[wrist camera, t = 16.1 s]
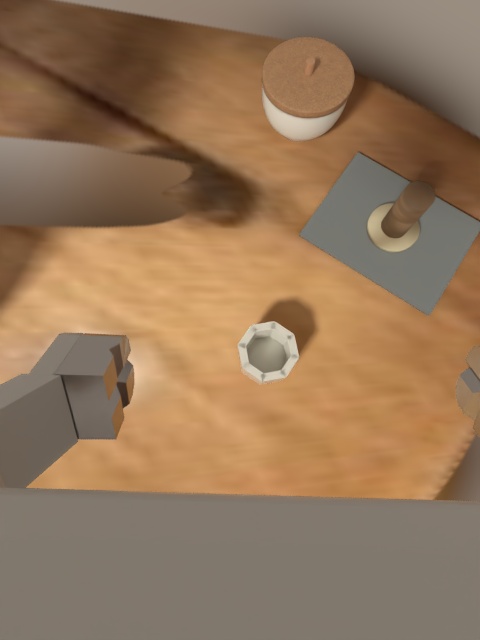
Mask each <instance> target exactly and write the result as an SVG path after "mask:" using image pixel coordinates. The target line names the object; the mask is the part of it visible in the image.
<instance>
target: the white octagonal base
mask: <svg viewBox="0 0 480 640" xmlns="http://www.w3.org/2000/svg"><path fill="white" fill-rule="evenodd" d="M238 354H239V360H240V365H241V371H242V373H244V374H245V375H246V376H248V377H249V378H250V379H252V380H253V381H255V382H257V383H258V384H260V385H263V384H269V383H274V382H279V381H282V380H284V379H285V378H286V377H287V375H288V374H289V372H290V371H291V369H292V368H293V366H294V365H295V363H296V362H297V360H298V359H299V354H298V349H297V345H296V340H295V336H294V334H293V333H292V332H290V331H289V330H287V329H286V328H284V327H283V326H281V325H280V324H278V323H276V322H275V321H272V322H266V323H261V324H255V325H251V326H250V328H249V329H248V330H247V332H246V333H245V335H244V336H243V338H242V339H241V340H240V342H239V343H238Z"/></svg>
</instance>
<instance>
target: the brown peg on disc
mask: <svg viewBox="0 0 480 640" xmlns="http://www.w3.org/2000/svg"><path fill="white" fill-rule="evenodd" d="M435 197H436V195H435V191H434V189H433V188H432V186H431V185H429V184H428V183H426V182H423V181H414V182H411V183H410V184H408V185H407V187H406V188H405V189H404V191H403V192H402V194H401V195H400V196H399V198H398V199H397V200H396V202H395V203H388V204H384V205H381V206H379V207H378V208H376V209H375V210H374V211H373V212H372V214H371V215H370V217H369V219H368V221H367V227H366V228H367V234H368V237H369V239H370V240H371V242H372V243H373V244H374V245H375V246H376V247H378V248H379V249H381V250H383V251H386V252H391V253H397V252H402V251H405V250H407V249H408V248H410V247H411V246H412V245H413V244H414V243H415V241H416V240H417V238H418V236H419V233H420V225H419V221H418V219H419V218H420V217H421V216H422V215H423V214H424V213H425V212H426V211H427V209H428V208H429V207H430V206H431V205H432V204H433V203H434V201H435Z"/></svg>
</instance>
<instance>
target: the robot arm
mask: <svg viewBox="0 0 480 640" xmlns="http://www.w3.org/2000/svg"><path fill="white" fill-rule="evenodd" d="M130 351H131V349H130V344H129V339H128V338H127V336H126V335H108V334H87V333H85V334H83V333H62V334H59V335H58V336H57V338H56V339H55V340H54V342H53V343H52V344H51V345H50V347H49V348H48V349H47V351H46V352H45V353H44V355H43V356H42V357H41V359H40V360H39V361H38V362H37V364H36V365H35V366H34V368H33V369H32V370H31V372H30V373H29V374H21V375H19V376H17V377H15V378H13V379H11V380H9V381H7V382H5V383H3V384H1V385H0V640H480V502H478V501H477V502H476V501H447V500H416V499H381V498H347V497H312V496H277V495H243V494H209V493H175V492H141V491H107V490H73V489H39V488H26V487H27V486H28V485H29V484H30V483H31V482H32V481H34V480H35V479H36V478H37V477H38V476H39V475H40V474H42V473H43V472H44V471H45V470H46V469H47V468H48V467H50V466H51V465H52V464H53V463H54V462H55V461H56V460H57V459H59V458H60V457H61V456H62V455H63V454H64V453H65V452H67V451H68V450H69V449H70V448H71V447H72V446H73V445H75V444H76V443H77V442H78V439H116V438H117V436H118V433H119V430H120V428H121V425H122V422H123V420H124V413H123V408H124V407H126V406H127V405H128V404H130V401H131V398H132V395H133V388H134V369H133V365H132V364H131V363H130V362H129V361H128V360H127V358H128V356H129V354H130ZM465 360H466V363H467V365H468V367H469V368H468V369H466V370H465V371H464V372H462V373H461V374H460V375H459V378H458V381H457V383H456V399H457V402H458V405H459V407H460V409H461V410H462V412H463V413H464V414H465V415H467V416H468V417H470V418H471V419H473V420H474V421H475V422H474V425H473V429H474V430H475V432H476V433H477V435H478V436H479V438H480V346H473V347H472V348H471V349H470V351H469V352H468V355H467V357H466V359H465Z"/></svg>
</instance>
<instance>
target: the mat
mask: <svg viewBox="0 0 480 640" xmlns="http://www.w3.org/2000/svg"><path fill="white" fill-rule="evenodd" d="M410 183H411V182H409V181H408V180H406V179H404V178H402V177H401V176H399V175H397V174H395V173H394V172H392V171H390V170H388V169H387V168H385V167H383V166H381V165H380V164H378V163H376V162H374V161H373V160H371V159H369V158H367V157H366V156H364V155H362V154H360V153H359V152H357V154H356V155H355V157H354V158H353V160H352V161H351V162H350V164H349V165H348V167H347V168H346V169H345V171H344V172H343V174H342V175H341V176H340V178H339V179H338V181H337V182H336V183H335V185H334V186H333V188H332V189H331V190H330V192H329V193H328V195H327V196H326V197H325V199H324V200H323V202H322V203H321V204H320V206H319V207H318V209H317V210H316V211H315V213H314V214H313V216H312V217H311V218H310V220H309V221H308V223H307V224H306V225H305V227H304V228H303V230H302V231H301V233H300V234H299V236H300V237H302V238H304V239H305V240H307V241H308V242H310V243H312V244H313V245H315V246H317V247H318V248H320V249H321V250H323V251H325V252H326V253H328V254H329V255H331V256H333V257H334V258H336V259H337V260H339V261H341V262H342V263H344V264H346V265H347V266H349V267H350V268H352V269H354V270H355V271H357V272H358V273H360V274H362V275H363V276H365V277H366V278H368V279H370V280H371V281H373V282H375V283H376V284H378V285H379V286H381V287H383V288H384V289H386V290H387V291H389V292H391V293H392V294H394V295H395V296H397V297H399V298H400V299H402V300H404V301H405V302H407V303H408V304H410V305H412V306H413V307H415V308H416V309H418V310H420V311H421V312H423V313H424V314H426V315H430V314H431V312H432V310H433V309H434V307H435V305H436V304H437V302H438V300H439V299H440V297H441V295H442V294H443V292H444V290H445V288H446V287H447V285H448V283H449V282H450V280H451V278H452V277H453V275H454V273H455V272H456V270H457V268H458V267H459V265H460V263H461V261H462V260H463V258H464V256H465V255H466V253H467V251H468V250H469V248H470V246H471V245H472V243H473V241H474V239H475V238H476V236H477V234H478V233H479V231H480V222H479V221H477V220H476V219H474V218H472V217H470V216H469V215H467V214H465V213H463V212H462V211H460V210H458V209H456V208H455V207H453V206H451V205H449V204H448V203H446V202H444V201H442V200H441V199H439V198H437V197H435V201H434V203H433V204H432V205H431V206H430V207H429V208H428V209H427V211H426V212H425V213H424V214H423V215H422V216H421V217H420V218H419V219H418V221H419V225H420V233H419V236H418V238H417V240H416V241H415V243H414V244H413V245H412V246H411V247H410V248H408V249H407V250H405V251H402V252H397V253H391V252H386V251H383V250H381V249H379V248H378V247H376V246H375V245H374V244H373V243H372V242H371V240H370V239H369V237H368V234H367V228H366V227H367V221H368V219H369V217H370V215H371V214H372V212H373V211H374V210H375V209H376V208H378V207H379V206H381V205H384V204H388V203H395V202H396V200H397V199H398V198H399V196H400V195H401V194H402V192H403V191H404V189H405V188H406V187H407V185H408V184H410Z"/></svg>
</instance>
